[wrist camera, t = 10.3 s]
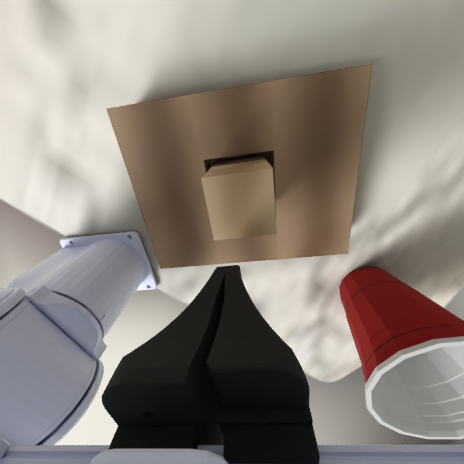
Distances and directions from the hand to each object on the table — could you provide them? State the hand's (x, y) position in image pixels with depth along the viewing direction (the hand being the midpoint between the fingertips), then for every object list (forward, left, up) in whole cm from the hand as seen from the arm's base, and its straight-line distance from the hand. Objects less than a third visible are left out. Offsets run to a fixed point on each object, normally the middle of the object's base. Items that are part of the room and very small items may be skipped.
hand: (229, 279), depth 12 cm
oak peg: (+1, +4, -10) cm, 11 cm away
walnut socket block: (+1, +4, -10) cm, 11 cm away
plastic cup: (+14, -10, -11) cm, 20 cm away
